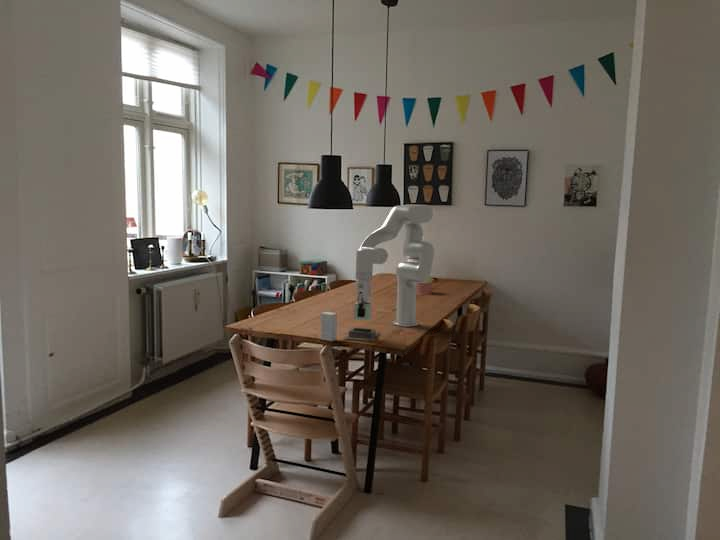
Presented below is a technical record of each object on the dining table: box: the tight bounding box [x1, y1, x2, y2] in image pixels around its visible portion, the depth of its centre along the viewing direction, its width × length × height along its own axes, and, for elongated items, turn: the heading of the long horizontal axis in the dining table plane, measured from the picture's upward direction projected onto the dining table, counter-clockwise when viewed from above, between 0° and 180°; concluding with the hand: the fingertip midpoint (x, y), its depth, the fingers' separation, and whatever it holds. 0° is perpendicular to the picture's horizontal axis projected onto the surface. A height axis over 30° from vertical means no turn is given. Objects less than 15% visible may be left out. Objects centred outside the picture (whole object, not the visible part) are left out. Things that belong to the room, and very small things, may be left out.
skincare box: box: [320, 311, 338, 342], centre depth 253 cm, size 6×4×12 cm
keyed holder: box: [343, 326, 381, 343], centre depth 261 cm, size 16×13×3 cm
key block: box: [353, 301, 372, 321], centre depth 259 cm, size 7×4×7 cm, turn 77°
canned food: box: [414, 274, 433, 295], centre depth 381 cm, size 11×11×12 cm
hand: (362, 315), depth 259 cm, fingers closed on key block, 4 cm apart
